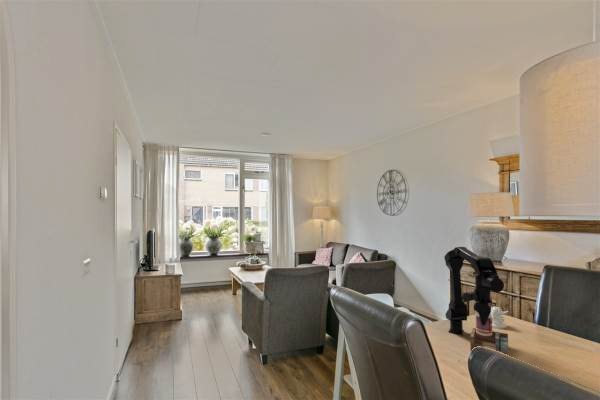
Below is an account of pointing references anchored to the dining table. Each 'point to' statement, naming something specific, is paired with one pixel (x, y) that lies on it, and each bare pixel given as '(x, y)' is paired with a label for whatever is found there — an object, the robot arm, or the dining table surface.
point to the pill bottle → (483, 329)
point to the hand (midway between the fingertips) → (483, 323)
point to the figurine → (497, 317)
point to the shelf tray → (490, 341)
